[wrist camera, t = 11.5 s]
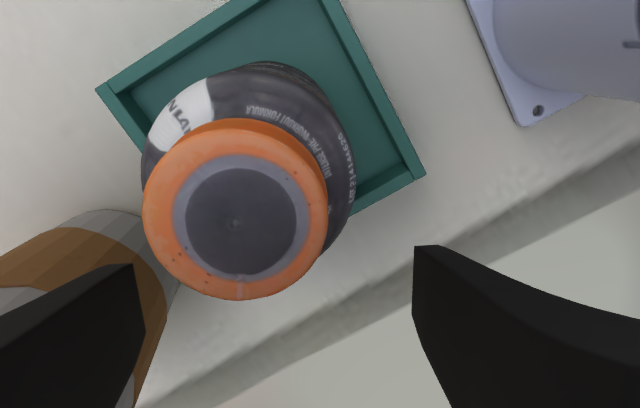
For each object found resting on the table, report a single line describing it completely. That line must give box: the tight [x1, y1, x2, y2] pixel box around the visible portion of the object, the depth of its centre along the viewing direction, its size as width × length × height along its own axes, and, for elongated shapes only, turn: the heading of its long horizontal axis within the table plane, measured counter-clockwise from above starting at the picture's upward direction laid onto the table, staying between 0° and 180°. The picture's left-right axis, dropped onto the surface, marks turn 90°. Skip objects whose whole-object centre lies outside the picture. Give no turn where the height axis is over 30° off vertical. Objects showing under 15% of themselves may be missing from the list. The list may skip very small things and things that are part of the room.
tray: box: [95, 0, 426, 217], centre depth 19 cm, size 10×10×2 cm
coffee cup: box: [0, 210, 179, 408], centre depth 15 cm, size 8×8×15 cm
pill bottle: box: [141, 61, 356, 301], centre depth 14 cm, size 6×6×11 cm
